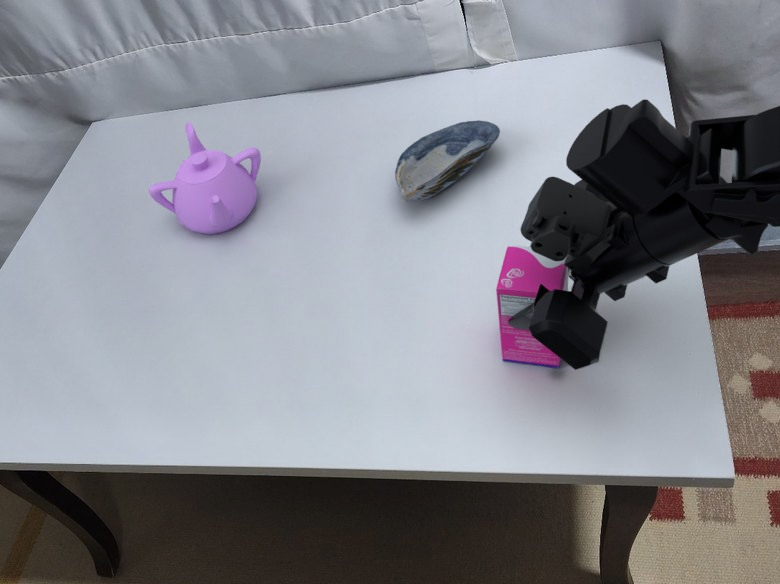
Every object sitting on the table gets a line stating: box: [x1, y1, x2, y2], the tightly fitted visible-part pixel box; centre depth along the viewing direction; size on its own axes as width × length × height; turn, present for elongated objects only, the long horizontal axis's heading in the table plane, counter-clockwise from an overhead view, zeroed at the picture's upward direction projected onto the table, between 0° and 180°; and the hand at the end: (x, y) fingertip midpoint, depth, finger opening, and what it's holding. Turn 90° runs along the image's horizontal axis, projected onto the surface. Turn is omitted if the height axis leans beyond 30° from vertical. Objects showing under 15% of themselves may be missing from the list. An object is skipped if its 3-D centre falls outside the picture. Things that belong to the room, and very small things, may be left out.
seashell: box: [394, 120, 501, 203], centre depth 94 cm, size 15×12×5 cm
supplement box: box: [495, 244, 569, 369], centre depth 73 cm, size 6×6×12 cm
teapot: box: [148, 122, 262, 235], centre depth 99 cm, size 12×14×9 cm
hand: (519, 300), depth 73 cm, fingers closed on supplement box, 6 cm apart
